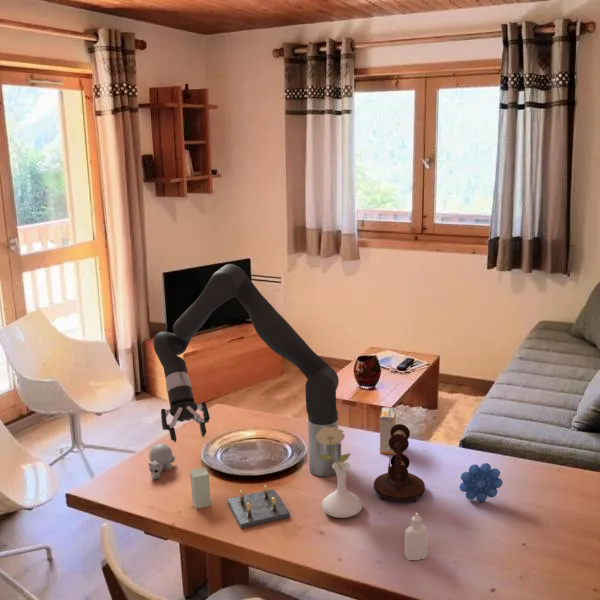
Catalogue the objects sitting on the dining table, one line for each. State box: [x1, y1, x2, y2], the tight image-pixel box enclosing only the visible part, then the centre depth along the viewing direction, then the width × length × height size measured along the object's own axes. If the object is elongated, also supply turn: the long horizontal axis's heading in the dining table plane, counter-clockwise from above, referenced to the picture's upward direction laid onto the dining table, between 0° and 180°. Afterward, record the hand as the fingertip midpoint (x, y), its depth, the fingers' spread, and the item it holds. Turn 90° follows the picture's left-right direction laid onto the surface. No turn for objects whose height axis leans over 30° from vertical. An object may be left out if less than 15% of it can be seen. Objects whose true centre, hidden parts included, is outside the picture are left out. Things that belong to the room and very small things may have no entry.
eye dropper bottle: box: [404, 512, 429, 561], centre depth 167 cm, size 4×6×12 cm
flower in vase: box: [315, 427, 363, 519], centre depth 188 cm, size 13×11×25 cm
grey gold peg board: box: [227, 484, 291, 530], centre depth 191 cm, size 14×14×5 cm
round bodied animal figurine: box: [147, 443, 176, 480], centre depth 214 cm, size 7×12×8 cm, turn 167°
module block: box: [189, 467, 212, 510], centre depth 195 cm, size 4×4×10 cm
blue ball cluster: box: [459, 462, 503, 503], centre depth 192 cm, size 12×7×12 cm, turn 73°
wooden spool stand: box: [373, 423, 426, 503], centre depth 197 cm, size 15×15×20 cm
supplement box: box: [379, 407, 397, 455], centre depth 224 cm, size 8×5×13 cm, turn 168°
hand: (189, 438), depth 203 cm, fingers open, 8 cm apart
